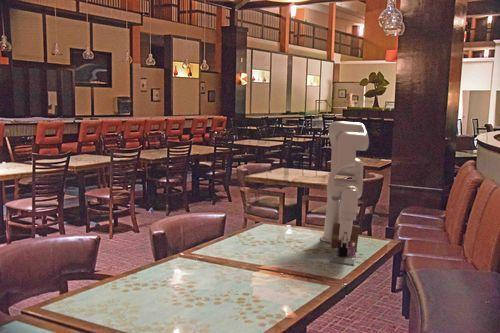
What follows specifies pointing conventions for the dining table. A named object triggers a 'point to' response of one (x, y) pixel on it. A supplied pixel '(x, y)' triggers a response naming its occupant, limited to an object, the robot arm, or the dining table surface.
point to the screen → (336, 239)
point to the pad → (342, 260)
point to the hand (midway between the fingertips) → (343, 254)
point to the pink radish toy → (347, 250)
